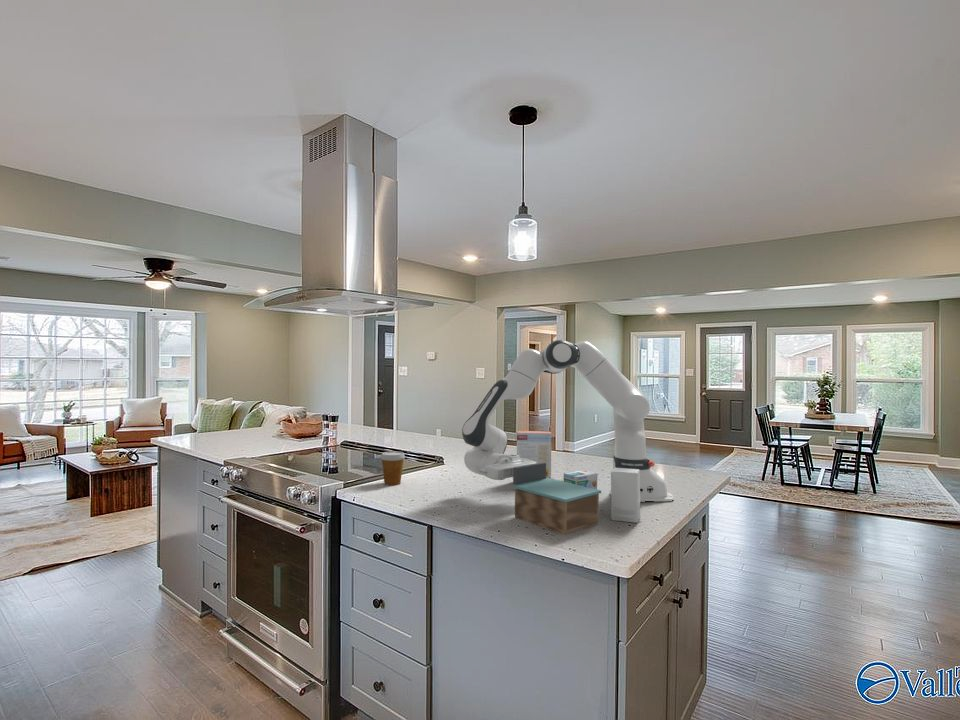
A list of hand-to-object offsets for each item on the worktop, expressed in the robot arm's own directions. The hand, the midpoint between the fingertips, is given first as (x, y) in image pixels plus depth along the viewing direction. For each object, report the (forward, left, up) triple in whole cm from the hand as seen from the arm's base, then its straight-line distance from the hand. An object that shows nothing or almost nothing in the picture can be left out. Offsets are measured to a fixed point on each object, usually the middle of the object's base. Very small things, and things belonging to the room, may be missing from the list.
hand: (528, 473), depth 165 cm
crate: (-8, +9, -12) cm, 17 cm away
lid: (-8, +8, -3) cm, 12 cm away
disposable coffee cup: (+53, -31, -13) cm, 63 cm away
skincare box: (-30, +5, -13) cm, 33 cm away
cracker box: (-3, -40, -13) cm, 43 cm away
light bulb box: (-18, -11, -13) cm, 25 cm away
